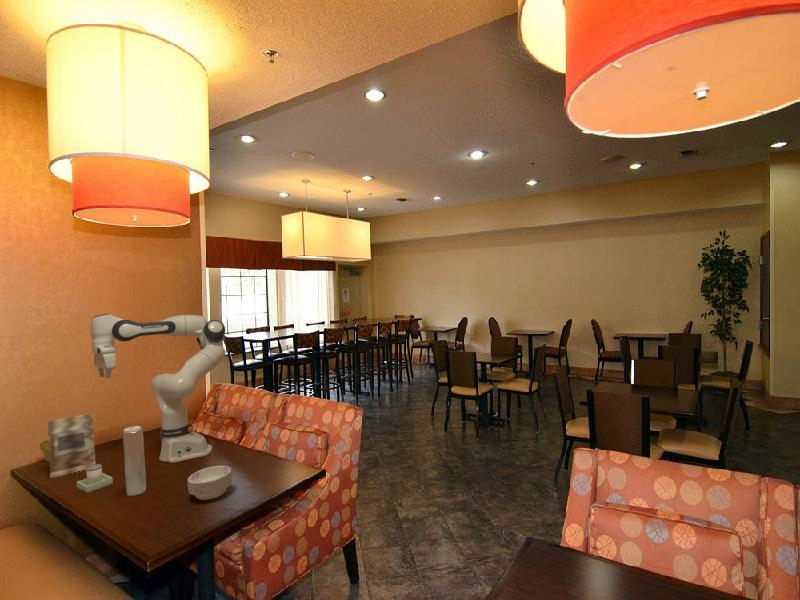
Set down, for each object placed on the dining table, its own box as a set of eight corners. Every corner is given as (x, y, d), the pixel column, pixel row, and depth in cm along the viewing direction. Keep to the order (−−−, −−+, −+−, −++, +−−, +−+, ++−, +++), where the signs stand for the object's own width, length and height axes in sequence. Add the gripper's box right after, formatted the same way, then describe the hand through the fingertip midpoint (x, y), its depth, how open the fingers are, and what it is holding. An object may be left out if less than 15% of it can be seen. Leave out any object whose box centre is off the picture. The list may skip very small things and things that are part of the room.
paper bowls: (187, 492, 159) (186, 471, 159) (230, 481, 167) (229, 461, 167) (189, 508, 146) (188, 486, 146) (235, 496, 153) (234, 475, 153)
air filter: (136, 496, 158) (132, 430, 157) (122, 495, 159) (118, 430, 159) (150, 488, 164) (146, 425, 164) (136, 487, 165) (132, 425, 165)
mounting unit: (95, 461, 196) (92, 412, 196) (95, 467, 188) (92, 416, 188) (51, 471, 186) (48, 419, 186) (49, 478, 178) (46, 424, 178)
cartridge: (104, 480, 172) (103, 463, 172) (100, 485, 167) (99, 467, 167) (90, 482, 170) (89, 465, 170) (85, 487, 165) (84, 470, 165)
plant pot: (42, 459, 202) (41, 439, 202) (69, 454, 208) (68, 434, 208) (40, 466, 193) (38, 445, 193) (68, 460, 200) (67, 439, 200)
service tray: (103, 479, 175) (102, 473, 175) (112, 483, 170) (112, 477, 170) (77, 488, 168) (76, 481, 167) (86, 493, 162) (86, 486, 162)
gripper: (89, 348, 201) (90, 376, 201) (101, 350, 188) (103, 380, 188) (104, 346, 206) (106, 374, 206) (118, 348, 193) (119, 378, 193)
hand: (105, 377), depth 197 cm, fingers open, 8 cm apart
